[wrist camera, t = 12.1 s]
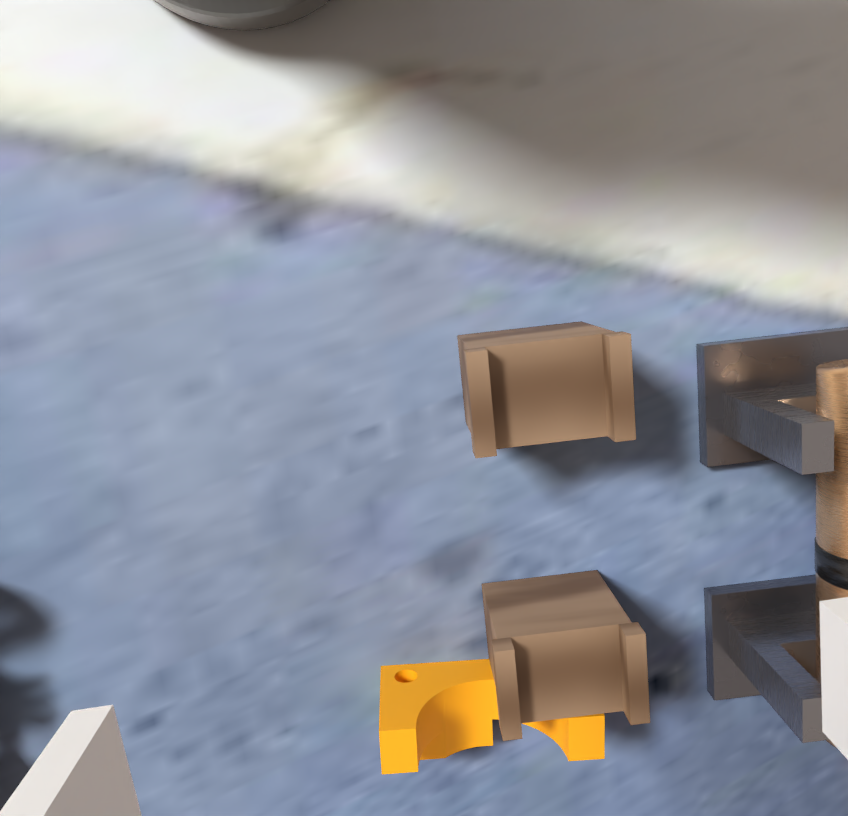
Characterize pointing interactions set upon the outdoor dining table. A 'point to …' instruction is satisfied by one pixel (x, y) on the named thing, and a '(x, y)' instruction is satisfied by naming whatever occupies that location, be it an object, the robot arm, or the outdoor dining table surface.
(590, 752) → the pipe clamp
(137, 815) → the robot arm
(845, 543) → the tube
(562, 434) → the walnut rest
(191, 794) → the outdoor dining table surface
